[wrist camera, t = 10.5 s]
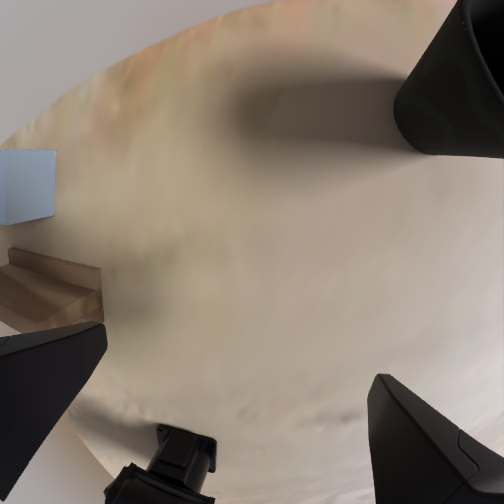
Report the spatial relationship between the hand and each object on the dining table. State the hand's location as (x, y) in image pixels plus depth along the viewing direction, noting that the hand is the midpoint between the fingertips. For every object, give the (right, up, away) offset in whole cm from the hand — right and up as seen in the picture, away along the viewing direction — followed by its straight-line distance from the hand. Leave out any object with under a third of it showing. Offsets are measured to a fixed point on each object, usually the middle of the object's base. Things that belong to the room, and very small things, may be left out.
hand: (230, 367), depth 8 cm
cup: (+13, +13, +8) cm, 20 cm away
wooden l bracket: (-19, +1, +15) cm, 25 cm away
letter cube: (-20, +10, +14) cm, 26 cm away
